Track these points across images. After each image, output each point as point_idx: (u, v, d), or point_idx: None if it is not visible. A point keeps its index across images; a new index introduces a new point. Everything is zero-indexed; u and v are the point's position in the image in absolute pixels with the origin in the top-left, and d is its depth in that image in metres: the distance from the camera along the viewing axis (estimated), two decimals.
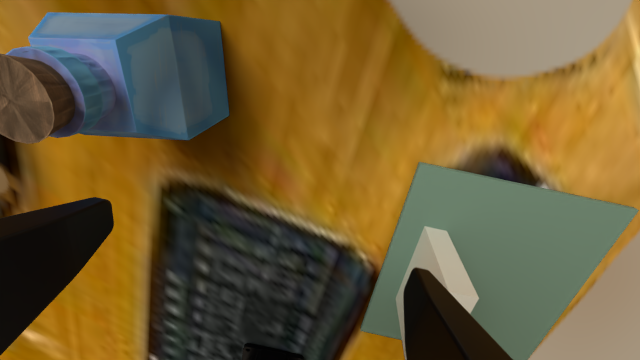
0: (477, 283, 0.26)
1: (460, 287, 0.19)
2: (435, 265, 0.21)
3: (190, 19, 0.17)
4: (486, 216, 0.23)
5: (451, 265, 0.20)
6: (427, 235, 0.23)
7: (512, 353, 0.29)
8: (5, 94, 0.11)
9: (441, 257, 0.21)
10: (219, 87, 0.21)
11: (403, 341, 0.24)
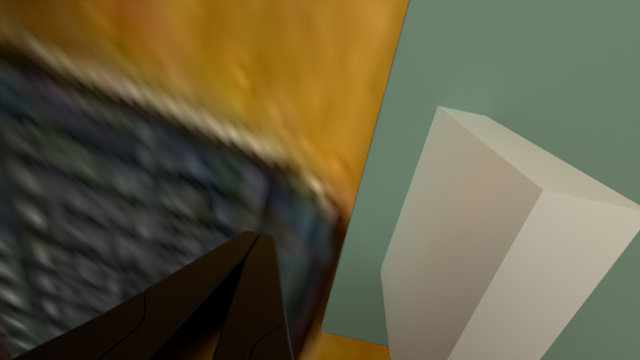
0: None
1: (573, 185, 0.06)
2: (474, 153, 0.08)
3: None
4: (578, 74, 0.10)
5: (520, 149, 0.07)
6: (446, 115, 0.10)
7: None
8: None
9: (489, 137, 0.08)
10: None
11: (392, 355, 0.11)
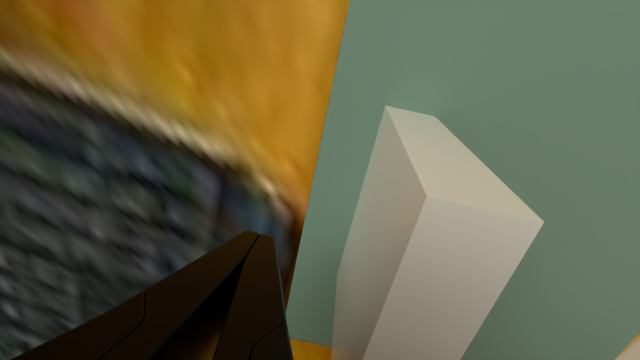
0: None
1: (470, 191, 0.05)
2: (397, 155, 0.07)
3: None
4: (526, 74, 0.10)
5: (441, 151, 0.07)
6: (388, 115, 0.10)
7: None
8: None
9: (415, 139, 0.08)
10: None
11: None
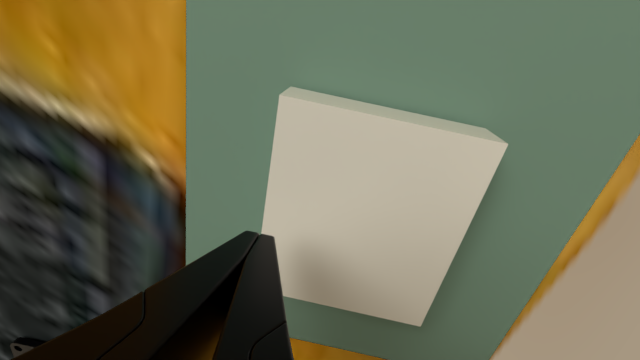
0: None
1: (478, 131, 0.10)
2: (414, 135, 0.09)
3: None
4: (367, 40, 0.10)
5: (417, 118, 0.10)
6: (316, 105, 0.09)
7: (456, 355, 0.16)
8: None
9: (400, 117, 0.10)
10: None
11: (363, 309, 0.12)
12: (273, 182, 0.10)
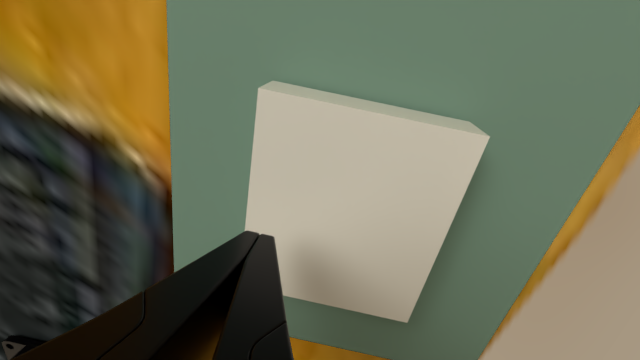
0: None
1: (460, 124, 0.10)
2: (394, 128, 0.09)
3: None
4: (348, 33, 0.10)
5: (399, 111, 0.10)
6: (296, 98, 0.09)
7: (446, 352, 0.16)
8: None
9: (381, 110, 0.09)
10: None
11: (350, 305, 0.12)
12: (255, 177, 0.10)
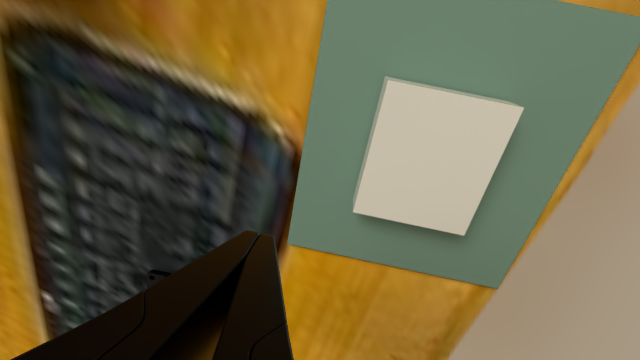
0: None
1: (504, 102, 0.16)
2: (467, 103, 0.16)
3: None
4: (435, 46, 0.17)
5: (467, 94, 0.16)
6: (410, 86, 0.16)
7: (483, 269, 0.22)
8: None
9: (458, 93, 0.16)
10: None
11: (426, 224, 0.19)
12: (376, 135, 0.17)
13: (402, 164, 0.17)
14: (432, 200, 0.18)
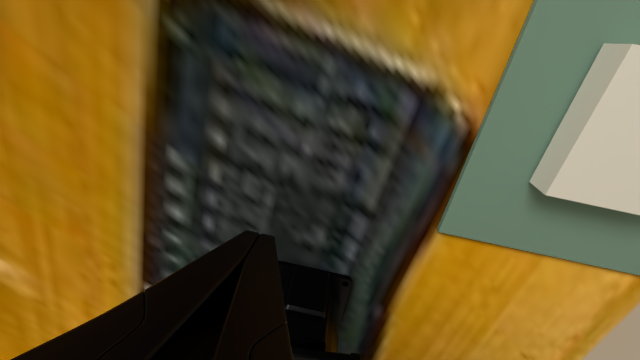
0: None
1: None
2: None
3: None
4: None
5: None
6: None
7: None
8: None
9: None
10: None
11: (628, 208, 0.17)
12: (599, 108, 0.15)
13: (620, 141, 0.16)
14: None
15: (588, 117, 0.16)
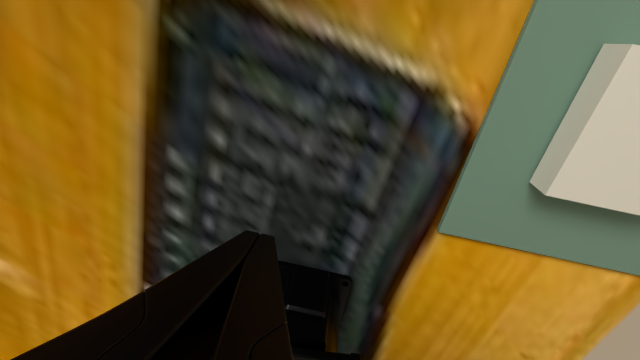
0: None
1: None
2: None
3: None
4: None
5: None
6: None
7: None
8: None
9: None
10: None
11: (628, 208, 0.17)
12: (599, 108, 0.15)
13: (620, 141, 0.16)
14: None
15: (588, 117, 0.16)
